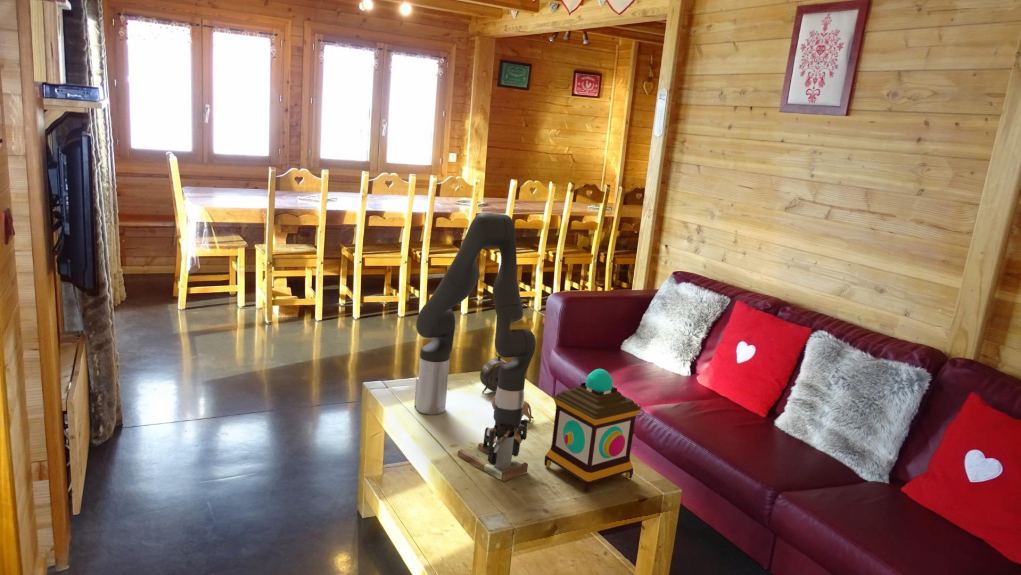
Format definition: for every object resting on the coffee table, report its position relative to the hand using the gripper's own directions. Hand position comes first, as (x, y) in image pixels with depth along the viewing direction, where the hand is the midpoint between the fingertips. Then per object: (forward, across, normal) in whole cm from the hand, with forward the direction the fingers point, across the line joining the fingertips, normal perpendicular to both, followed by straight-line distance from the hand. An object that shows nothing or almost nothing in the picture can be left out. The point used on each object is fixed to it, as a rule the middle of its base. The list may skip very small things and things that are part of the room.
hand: (503, 459), depth 197 cm
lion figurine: (+3, -25, -21) cm, 33 cm away
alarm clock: (+3, -38, -41) cm, 56 cm away
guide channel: (+3, 0, -4) cm, 5 cm away
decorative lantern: (+3, -18, +15) cm, 24 cm away
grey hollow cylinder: (+3, 0, 0) cm, 3 cm away
